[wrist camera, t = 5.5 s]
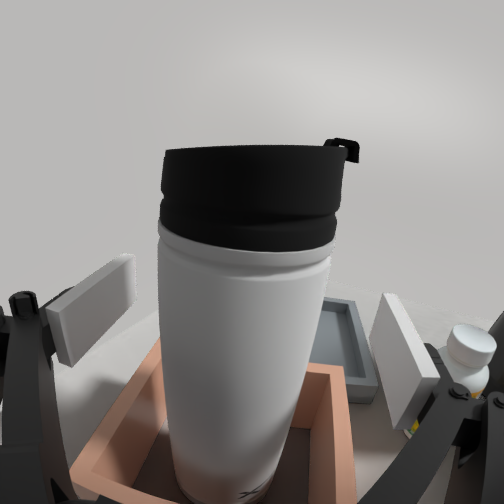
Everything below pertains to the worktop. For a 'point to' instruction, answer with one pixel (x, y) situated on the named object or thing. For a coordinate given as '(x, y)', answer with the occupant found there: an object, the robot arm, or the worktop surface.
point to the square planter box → (154, 413)
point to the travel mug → (241, 303)
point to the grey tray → (345, 348)
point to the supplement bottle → (466, 359)
